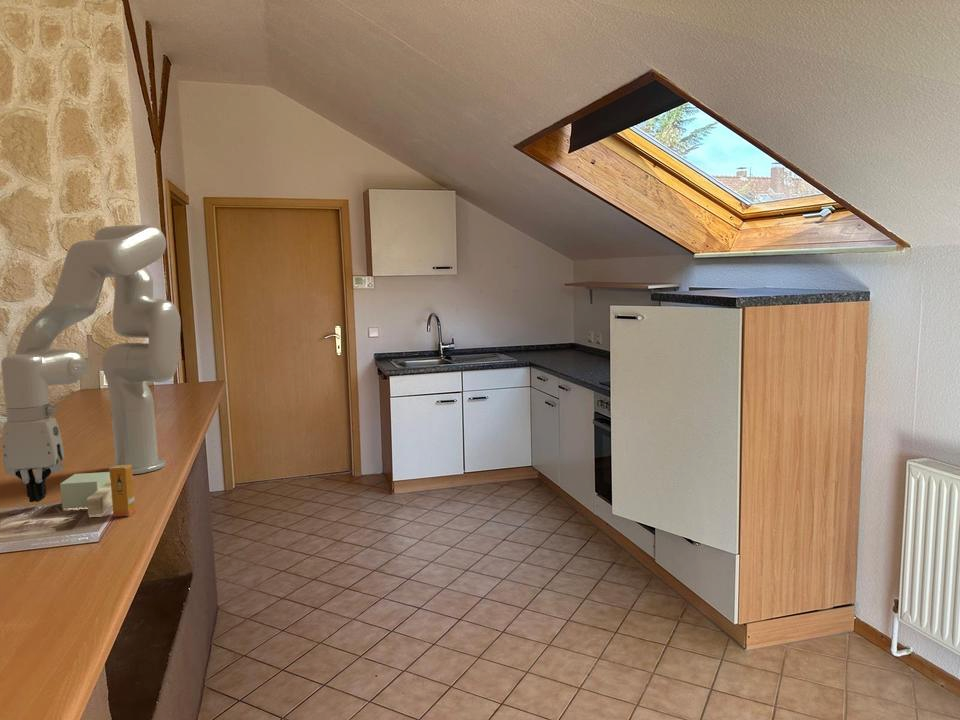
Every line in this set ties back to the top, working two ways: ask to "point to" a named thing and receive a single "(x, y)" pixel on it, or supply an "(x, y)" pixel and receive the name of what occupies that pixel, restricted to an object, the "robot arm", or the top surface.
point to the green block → (81, 488)
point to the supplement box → (122, 490)
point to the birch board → (100, 500)
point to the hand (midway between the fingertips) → (37, 499)
